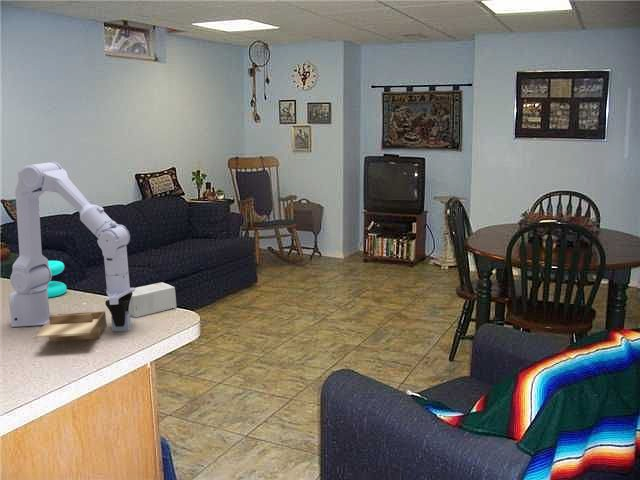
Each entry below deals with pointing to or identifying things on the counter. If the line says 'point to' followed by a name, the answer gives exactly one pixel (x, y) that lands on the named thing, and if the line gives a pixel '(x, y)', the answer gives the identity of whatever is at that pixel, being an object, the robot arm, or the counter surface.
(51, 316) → the lid
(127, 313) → the block
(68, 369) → the counter surface
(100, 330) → the wooden box
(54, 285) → the donuts
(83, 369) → the counter surface
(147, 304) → the small box
